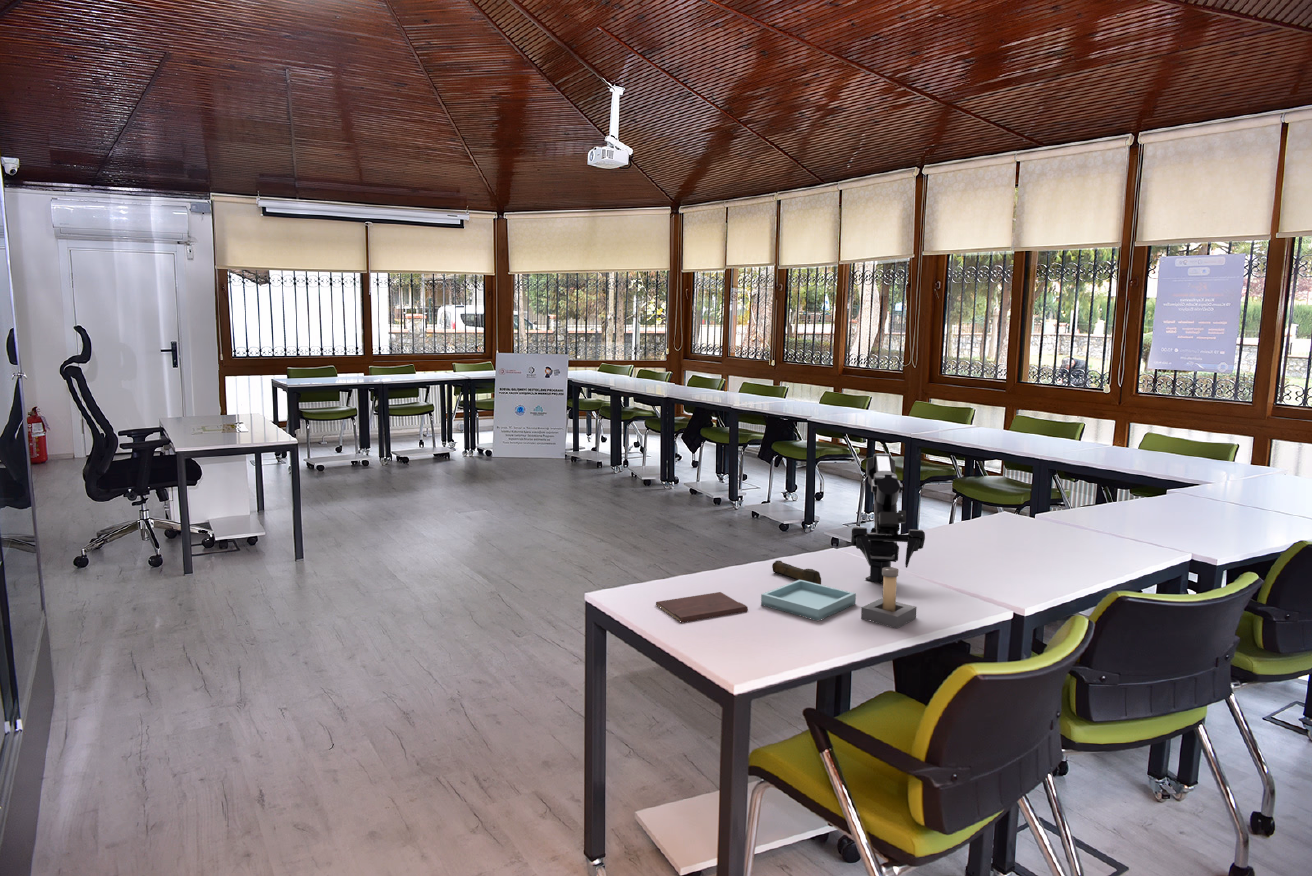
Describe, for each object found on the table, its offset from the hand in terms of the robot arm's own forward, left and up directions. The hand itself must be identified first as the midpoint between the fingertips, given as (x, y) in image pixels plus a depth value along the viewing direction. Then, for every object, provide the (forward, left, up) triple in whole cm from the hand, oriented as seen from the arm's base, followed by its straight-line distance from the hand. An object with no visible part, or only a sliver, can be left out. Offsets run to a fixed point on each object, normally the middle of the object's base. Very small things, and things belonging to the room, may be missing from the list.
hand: (888, 565), depth 216 cm
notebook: (+32, -37, -13) cm, 50 cm away
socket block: (+5, +3, -12) cm, 13 cm away
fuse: (+5, +3, -12) cm, 13 cm away
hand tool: (-7, -33, -13) cm, 36 cm away
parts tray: (+10, -18, -12) cm, 24 cm away
